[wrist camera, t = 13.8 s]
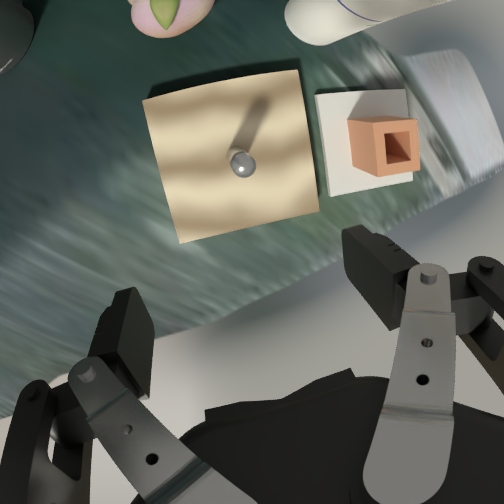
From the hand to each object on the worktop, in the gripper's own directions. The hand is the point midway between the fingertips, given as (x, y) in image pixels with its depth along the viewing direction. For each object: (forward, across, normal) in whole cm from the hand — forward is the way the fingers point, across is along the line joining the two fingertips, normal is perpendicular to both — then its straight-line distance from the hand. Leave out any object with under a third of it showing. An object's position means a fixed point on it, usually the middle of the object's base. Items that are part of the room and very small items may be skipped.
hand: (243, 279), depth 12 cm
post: (+23, -3, 0) cm, 23 cm away
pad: (+24, -19, +1) cm, 31 cm away
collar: (+24, -19, +1) cm, 30 cm away
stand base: (+25, -3, 0) cm, 25 cm away
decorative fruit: (+25, 0, -18) cm, 31 cm away
